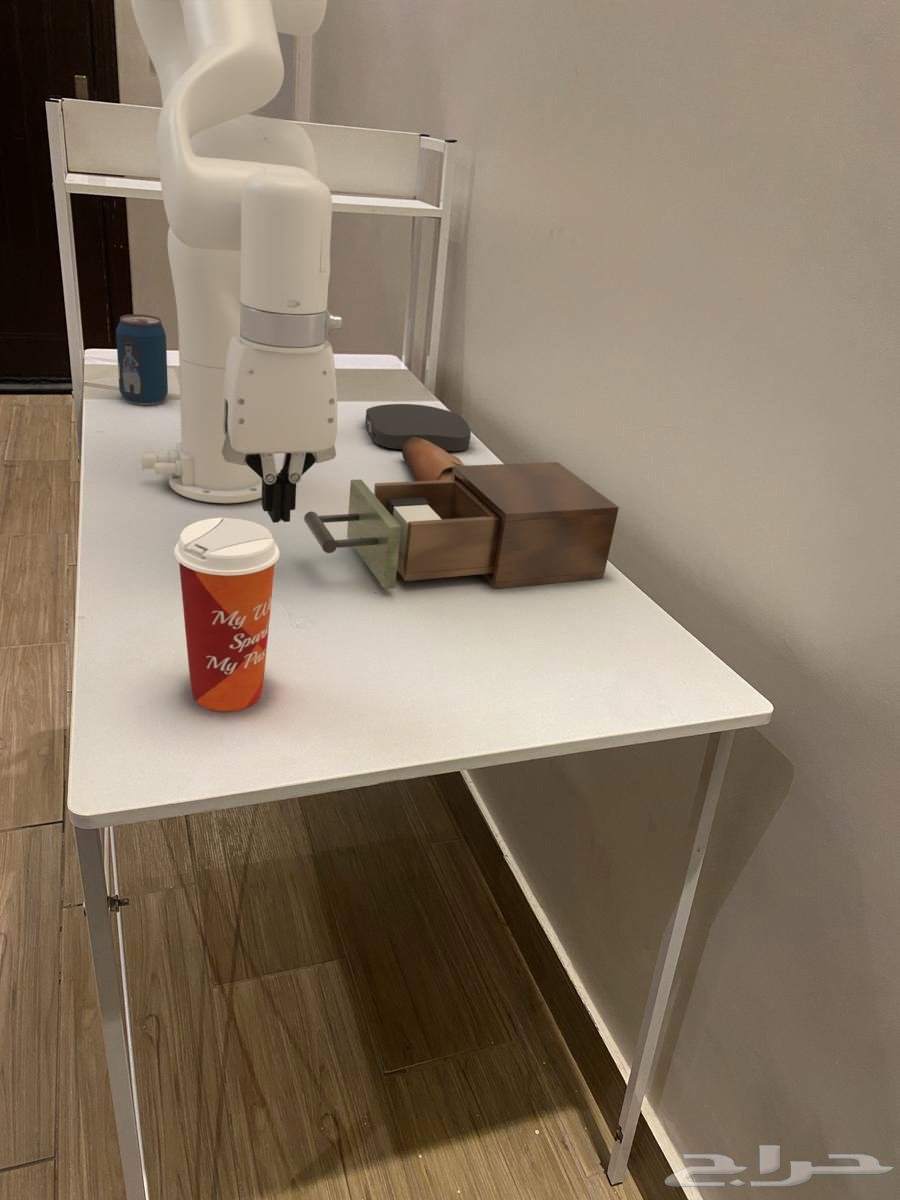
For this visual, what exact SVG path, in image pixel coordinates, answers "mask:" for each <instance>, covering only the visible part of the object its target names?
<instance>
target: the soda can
mask: <svg viewBox="0 0 900 1200" xmlns="http://www.w3.org/2000/svg"><path fill="white" fill-rule="evenodd" d="M115 335H116V337H115V338H116V354H117V355H116V356H117V372H118V386H119V387H118V389H119V393H120V394H121V397H122V398H123V399H124V401H125V402H127V403H129V404H132V405H137V406H155V405H158V404H162V403H163V402H164V401H165V399H166V397H167V396H168V394H169V386H168V385H169V383H168V354H167V353H168V352H167V351H168V350H167V331H166V329H165V327H164V325H163V324H162V319H161V318H160V317H158V316H154V315H149V314H141V313H140V314H135V313H134V314H132V313H131V314H125V315H124V314H123V315H121V316H120V317H119V322H118V324H117V327H116V329H115Z"/></svg>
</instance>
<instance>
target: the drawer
mask: <svg viewBox="0 0 900 1200" xmlns="http://www.w3.org/2000/svg"><path fill="white" fill-rule="evenodd" d="M373 489H374V492H372V491H371V489H370V488H369V487H368V485H367V484H366V483H365V482H364V481H363V480H362V479H350V487H349V501H348V513H343V514H342V513H341V514H329V515H328V514H327V515H318V513H316V512H315V511H308V512H306V513H305V514H304V517H303V522H304V523H305V524H306V526H307V527H308V529H309V531H310V532H311V534H312V535H313V537H314V538H315V540H316V541H317V543H318V544H319V546H320V547H321V549H322V550H323V552H325V553H326V554H332V553H334V552H336V551H337V549H338V548H339V549H340V548H351V547H352V548H354V549H355V551H356V552H357V554H358V555H359V556H360V558H361V559H362V560H363V562H364V563H365V564H366V566H367V567H368V569H369V570H370V572H371V573H372V574H373V575H374V577H375V578H376V580H377V581H378V582H379V584H380V585H381V586H382V588H383V589H384V590H386V589H387V590H389V589H396V583H397V582H396V581H397V572H398V574H399V575H400V576H401V577H402V579H403V580H404V582H408V581H419V580H430V579H431V580H432V579H442V578H453V577H454V578H455V577H464V576H465V577H466V576H475V575H481V574H488V573H493V569H494V562H495V556H496V550H497V543H498V537H499V530H500V524H501V518H500V517H499V516H498V515H497V514H495V513H494V512H493V511H492V510H491V509H490V508H489V507H488V506H487V505H486V504H485V503H484V502H483V501H481V500H480V499H479V498H478V497H477V496H476V495H475V494H474V493H473V492H472V491H471V490H470V489H469V488H467V487H466V486H465V485H464V484H463V483H462V482H461V481H460V480H459V479H457V480H435V481H415V480H413V481H394V482H391V481H390V482H375V483H374V488H373ZM420 497H424V498H425V499H426V500H427V502H428V503H429V507H430V508H431V509H432V510H433V511H434V512H435V513H436V514H437V515H438V516H439V517H440V518H441V519H442V520H426V521H410V522H408V531H407V541H406V551H405V558H404V556H403V555H402V554H401V553H400V551H399V543H400V533H401V526H400V525H399V523H398V522H397V521H396V520H395V519H394V518H393V516H392V515H391V514H390V513H389V512H388V511H387V503H388V499H401V498H420ZM341 522H347V532H346V539H335V538H334V536H333V535H332V533H331V532H330V531H329V529H328V528H327V526H326V525H325V524H324V523H341Z"/></svg>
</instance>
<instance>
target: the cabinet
mask: <svg viewBox="0 0 900 1200" xmlns="http://www.w3.org/2000/svg"><path fill="white" fill-rule="evenodd" d="M457 479H459V480H460V481H461V482H462V483H463V484H464V485H465V486H466V487H467V488H469V489H470V490H471V491H472V492H473V493H474V494H475V495H476V496H477V497H478V498H479V499H480V500H481V501H483V502H484V503H485V504H486V505H487V506H488V507H489V508H490V509H491V510H492V511H493V512H494V513H495V514H497V515H498V516H499V517H500V518H501V524H500V530H499V537H498V543H497V550H496V556H495V562H494V569H493V573H488V574H480V575H481V577H483V578H484V579H485V581H487V583H488V584H489V585H490V586H491V587H492V588H493V589H494V590H495V589H496V590H497V589H498V590H499V589H508V588H518V587H527V586H537V585H548V584H558V583H568V582H577V581H579V582H580V581H588V580H590V581H591V580H599V579H604V577H605V572H606V569H607V568H606V567H607V565H608V564H607V563H608V559H609V555H610V554H609V553H610V551H611V546H612V540H613V536H614V532H615V528H616V523H617V519H618V513H619V509H620V507H619V506H618V505H616V504H615V503H614V502H613V501H611V500H610V499H608V497H605V495H603V494H602V493H601V492H599V491H598V490H596V489H595V488H594V487H592V486H591V485H589V484H588V483H586V481H584V480H582V479H581V478H580V477H579V476H577V475H576V474H575V473H573V472H572V471H570V470H569V469H567V468H566V467H565V466H564V465H562V464H560V462H558V461H549V462H525V463H523V462H521V463H498V464H497V463H496V464H473V465H471V464H469V465H467V464H466V465H464V466H453V473H452V480H457Z"/></svg>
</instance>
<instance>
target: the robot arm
mask: <svg viewBox="0 0 900 1200" xmlns="http://www.w3.org/2000/svg"><path fill="white" fill-rule="evenodd" d="M130 4H131V9H132V12H133V13H132V14H133V16H134V20H135V23H136V26H137V29H138V31H139V34H140V36H141V39H142V42H143V44H144V47H145V49H146V51H147V53H148V56H149V58H150V60H151V63H152V64H153V67H154V70H155V74H156V76H157V79H158V82H159V87H160V94H161V103H162V107H161V110H160V113H159V116H158V121H157V127H156V140H155V141H156V144H155V146H156V147H155V148H156V160H157V161H156V162H157V168H158V174H159V181H160V188H161V194H162V201H163V205H164V212H165V215H166V219H167V223H168V225H169V227H168V231H167V240H166V241H167V253H168V254H167V255H168V261H169V266H170V272H171V277H172V284H173V290H174V296H175V306H176V314H177V315H176V316H177V333H178V334H177V335H178V356H179V357H178V360H179V396H180V397H179V398H180V399H179V401H180V402H179V403H180V441H181V442H176V443H175V449H168V451H167V452H165V453H157V452H141V453H140V463H141V464H140V466H141V469H142V470H154V475H157V476H158V475H168V485H169V486H170V489H172V490H173V491H174V492H175V493H177V494H179V495H181V496H183V497H185V498H187V499H191V500H195V501H199V502H204V503H211V504H239V503H246V502H252V501H256V500H259V499H261V508H262V511H263V512H267V514H268V516H269V518H270V519H271V522H272V523H274V524H275V523H280V522H281V521H282V522H283V523H288V522H289V523H290V522H291V511H295V510H296V502H297V501H296V500H297V484H298V483H300V481H302V480H301V479H302V476H303V475H304V474H305V473H307V471H308V470H309V469H311V468H312V466H314V465H315V464H319V463H323V462H327V461H331V460H334V459H335V458H336V456H337V451H336V447H335V444H336V441H337V435H338V389H337V377H336V367H335V366H336V365H335V359H334V358H335V357H334V352H333V346H332V344H331V343H330V342H329V341H328V340H329V335H330V333H333V332H334V331H335V332H339V331H340V332H341V330H342V327H343V320H342V316H341V315H334V314H333V313H330V310H328V299H329V298H328V297H329V296H328V295H329V282H330V276H331V240H332V219H333V218H332V217H333V197H332V193H331V190H330V188H329V186H328V185H326V183H325V182H324V181H322V180H321V179H320V173H319V172H320V171H319V165H318V159H317V154H316V150H315V147H314V144H313V141H312V139H311V138H310V136H309V135H308V133H307V132H306V130H305V129H304V128H303V127H302V126H300V125H299V124H297V123H295V122H293V121H291V120H287V119H282V118H276V117H267V116H260V115H259V116H258V115H252V114H250V113H253V112H255V111H258V110H259V109H261V108H263V107H265V106H266V105H267V104H269V103H270V102H271V101H272V100H273V99H274V98H275V97H276V96H277V95H278V93H279V92H280V90H281V87H282V86H283V82H284V79H285V66H284V60H283V55H282V51H281V45H280V41H279V37H278V36H279V35H278V33H281V34H287V35H292V36H296V37H310V36H313V35H314V34H315V33H316V32H318V30H319V29H320V27H321V26H322V25H323V21H324V19H325V15H326V11H327V6H328V0H130ZM274 454H283V458H282V459H283V460H282V465H281V469H280V471H279V472H278V473H277V470H276V469H277V468H276V462H275V455H274Z"/></svg>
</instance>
